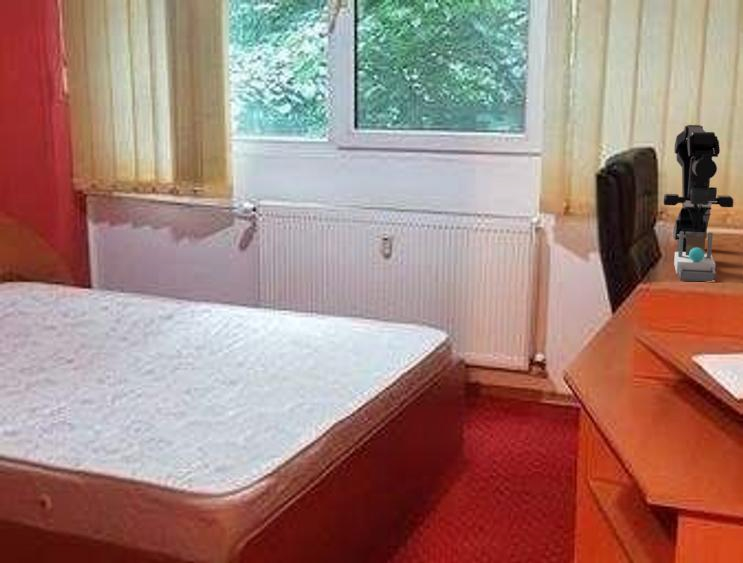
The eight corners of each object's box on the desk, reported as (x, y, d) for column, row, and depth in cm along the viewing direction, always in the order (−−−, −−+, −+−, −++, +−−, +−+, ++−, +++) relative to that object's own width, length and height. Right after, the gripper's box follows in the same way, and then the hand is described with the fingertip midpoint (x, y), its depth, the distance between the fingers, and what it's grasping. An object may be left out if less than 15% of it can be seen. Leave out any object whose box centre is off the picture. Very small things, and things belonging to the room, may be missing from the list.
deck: (674, 263, 278) (676, 227, 275) (709, 264, 275) (712, 229, 273) (676, 274, 262) (679, 236, 259) (714, 276, 259) (717, 238, 257)
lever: (683, 257, 271) (684, 234, 272) (703, 258, 270) (704, 235, 270) (684, 254, 266) (686, 231, 267) (705, 255, 265) (706, 232, 265)
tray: (678, 274, 261) (679, 265, 261) (712, 276, 259) (713, 267, 258) (680, 280, 253) (680, 271, 252) (715, 282, 250) (716, 273, 250)
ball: (689, 244, 261) (689, 253, 259) (704, 244, 260) (704, 254, 258) (688, 254, 264) (688, 264, 261) (703, 255, 263) (703, 265, 260)
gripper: (666, 177, 261) (662, 232, 264) (737, 179, 256) (732, 235, 259) (665, 174, 271) (661, 227, 275) (733, 176, 267) (728, 230, 270)
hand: (695, 230), depth 269 cm, fingers closed
